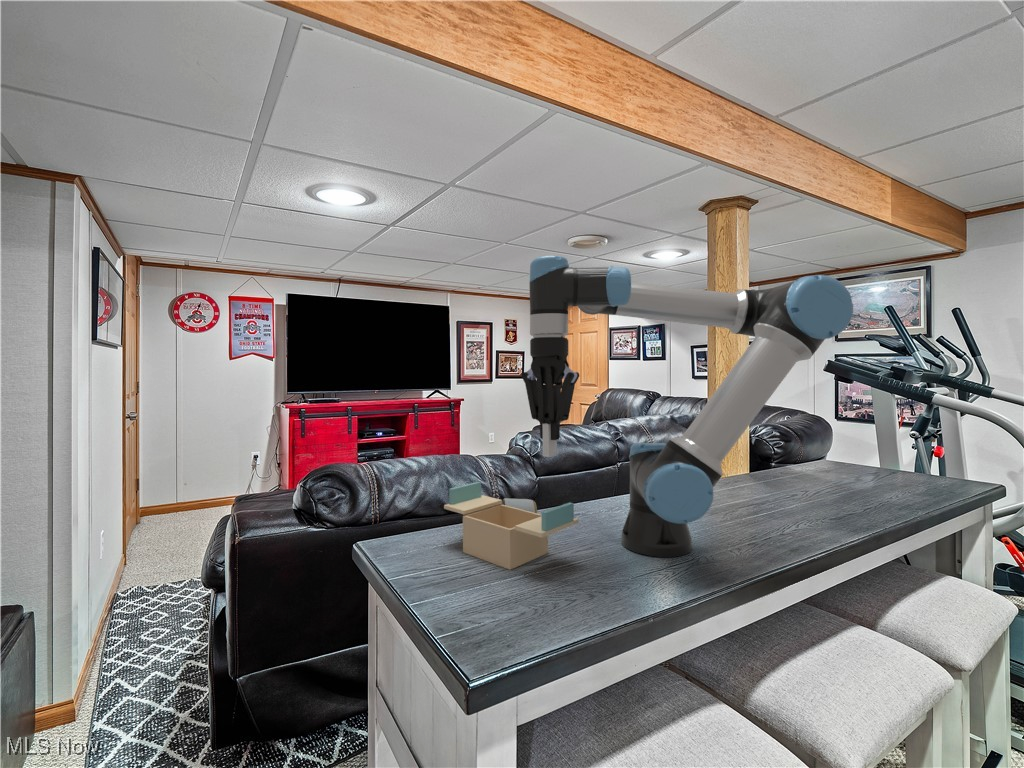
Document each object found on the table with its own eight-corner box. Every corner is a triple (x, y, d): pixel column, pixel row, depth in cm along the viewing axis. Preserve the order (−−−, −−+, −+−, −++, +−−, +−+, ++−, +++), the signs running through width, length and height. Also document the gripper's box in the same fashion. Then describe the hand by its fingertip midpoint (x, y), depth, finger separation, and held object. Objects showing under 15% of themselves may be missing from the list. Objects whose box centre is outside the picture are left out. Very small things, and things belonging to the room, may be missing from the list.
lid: (502, 503, 117) (502, 485, 117) (464, 514, 109) (464, 494, 108) (481, 498, 122) (481, 480, 122) (444, 508, 113) (443, 489, 113)
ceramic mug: (538, 532, 122) (538, 501, 121) (505, 534, 120) (505, 502, 120) (529, 520, 132) (529, 491, 132) (498, 521, 131) (498, 492, 131)
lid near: (578, 522, 103) (578, 502, 102) (541, 537, 94) (541, 515, 94) (552, 516, 107) (552, 496, 107) (514, 529, 99) (514, 508, 98)
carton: (548, 552, 108) (548, 516, 108) (510, 569, 100) (509, 530, 99) (501, 538, 118) (501, 504, 118) (463, 552, 109) (462, 515, 109)
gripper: (587, 336, 98) (588, 456, 98) (535, 339, 106) (536, 449, 107) (564, 334, 92) (565, 462, 93) (511, 337, 101) (513, 454, 102)
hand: (549, 455), depth 100 cm, fingers closed
